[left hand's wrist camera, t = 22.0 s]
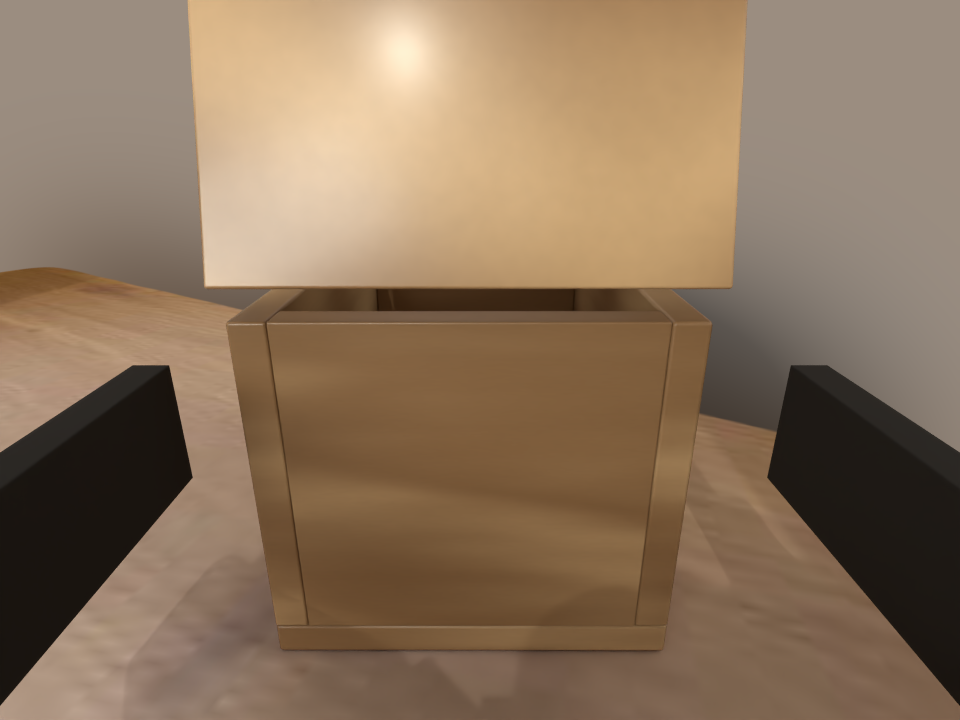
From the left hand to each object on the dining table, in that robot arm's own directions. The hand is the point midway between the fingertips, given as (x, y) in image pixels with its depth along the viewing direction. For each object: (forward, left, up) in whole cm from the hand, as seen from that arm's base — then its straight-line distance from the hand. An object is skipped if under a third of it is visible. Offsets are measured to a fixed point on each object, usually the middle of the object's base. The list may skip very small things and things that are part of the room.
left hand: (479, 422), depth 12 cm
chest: (+5, -5, -7) cm, 9 cm away
